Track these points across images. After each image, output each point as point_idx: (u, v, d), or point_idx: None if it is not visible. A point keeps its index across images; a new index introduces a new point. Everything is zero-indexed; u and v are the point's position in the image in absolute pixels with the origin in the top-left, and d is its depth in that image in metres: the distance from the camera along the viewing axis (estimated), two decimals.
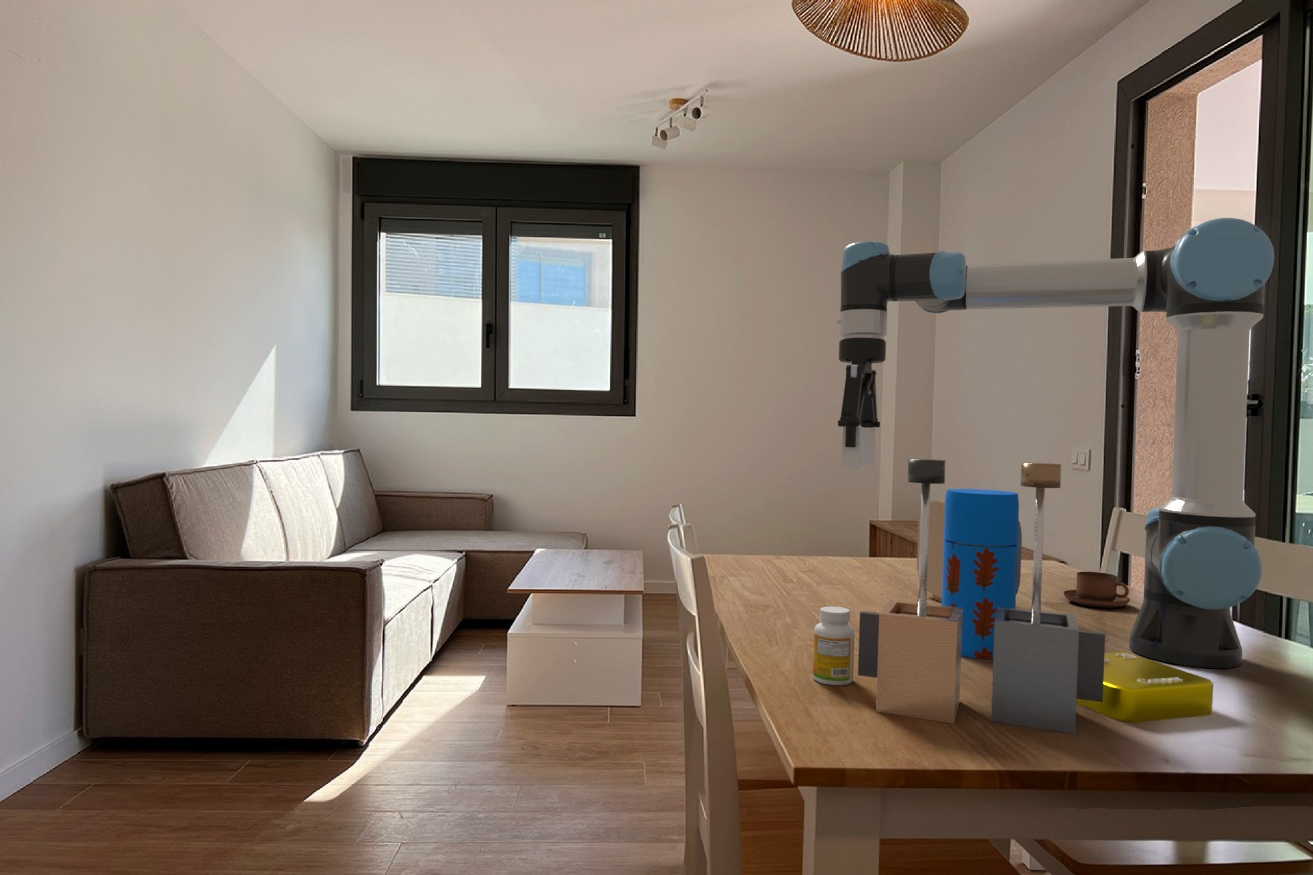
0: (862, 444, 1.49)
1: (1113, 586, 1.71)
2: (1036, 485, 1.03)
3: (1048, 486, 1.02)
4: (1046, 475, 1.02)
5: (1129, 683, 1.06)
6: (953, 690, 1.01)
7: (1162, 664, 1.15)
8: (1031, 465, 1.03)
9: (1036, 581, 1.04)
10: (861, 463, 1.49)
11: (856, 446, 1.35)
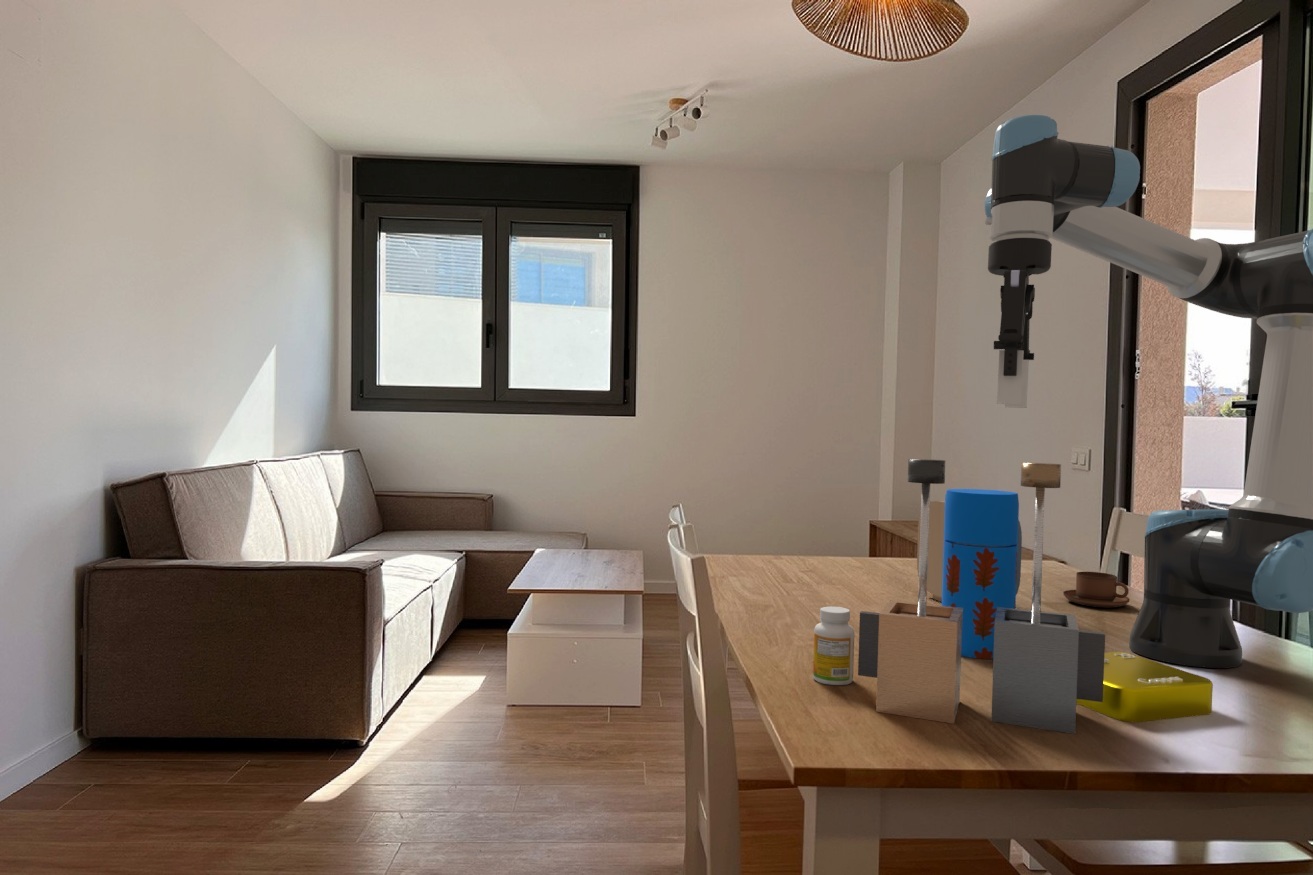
0: None
1: (1112, 586, 1.71)
2: (1036, 485, 1.03)
3: (1048, 486, 1.02)
4: (1046, 475, 1.02)
5: (1130, 683, 1.06)
6: (953, 690, 1.01)
7: (1161, 664, 1.15)
8: (1031, 465, 1.03)
9: (1036, 581, 1.04)
10: (1010, 405, 1.18)
11: (1017, 374, 1.05)
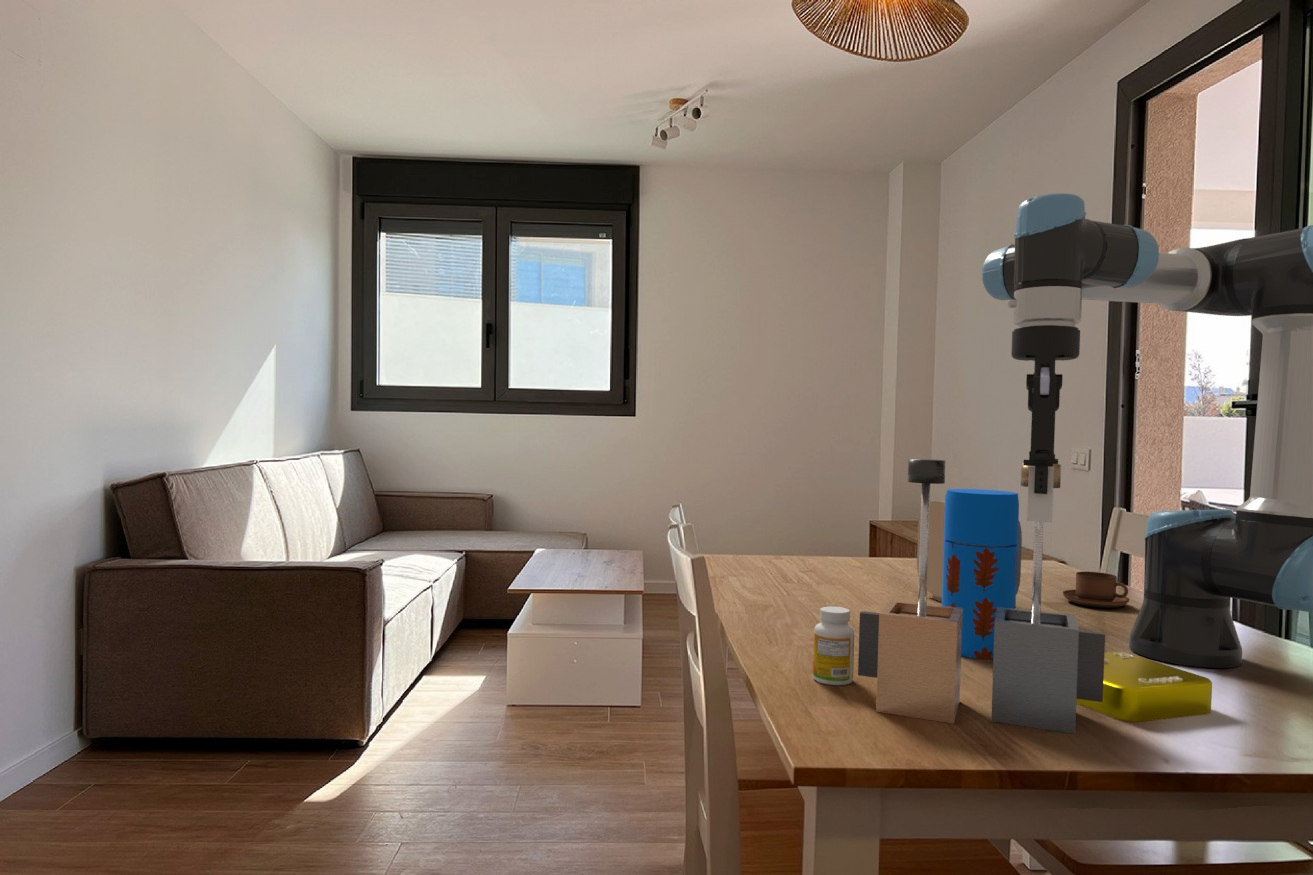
0: None
1: (1112, 586, 1.71)
2: None
3: None
4: None
5: (1131, 683, 1.06)
6: (953, 690, 1.01)
7: (1159, 663, 1.15)
8: None
9: (1036, 581, 1.04)
10: None
11: (1048, 492, 1.01)
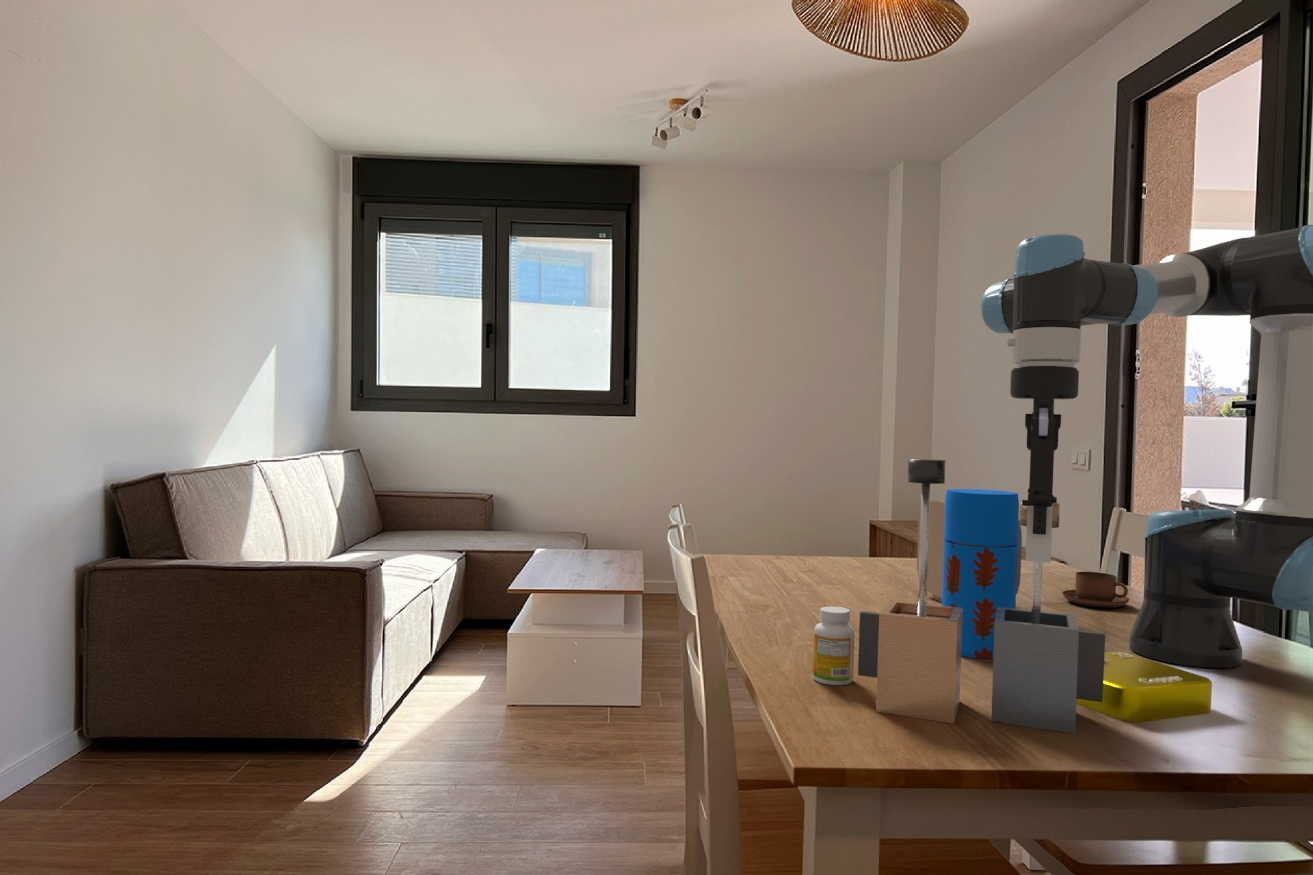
0: None
1: (1112, 586, 1.71)
2: None
3: None
4: None
5: (1132, 683, 1.06)
6: (953, 690, 1.01)
7: (1159, 663, 1.15)
8: None
9: (1035, 620, 1.04)
10: None
11: (1047, 532, 1.01)
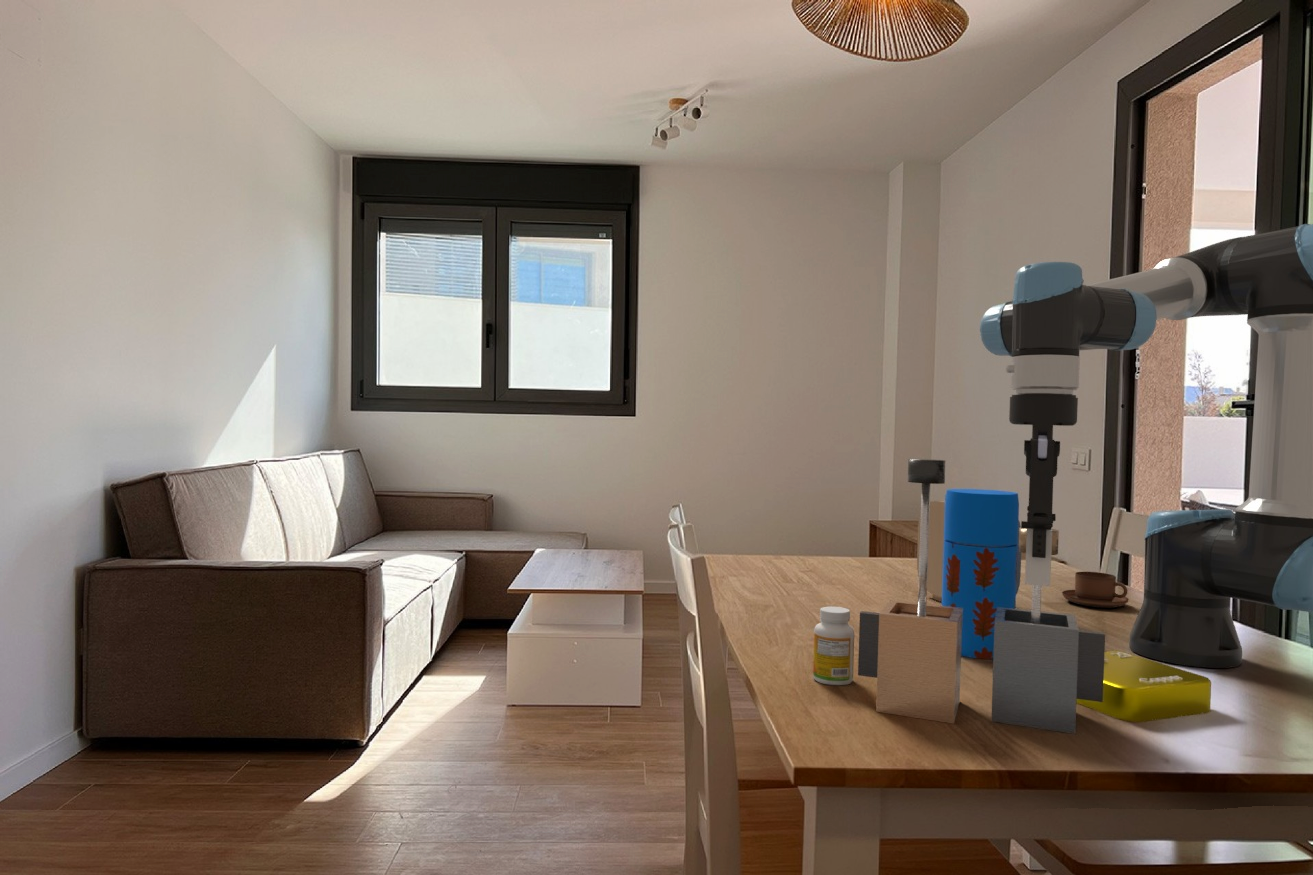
0: None
1: (1111, 586, 1.71)
2: None
3: None
4: None
5: (1132, 683, 1.06)
6: (953, 690, 1.01)
7: (1157, 662, 1.16)
8: None
9: None
10: None
11: (1046, 555, 1.00)
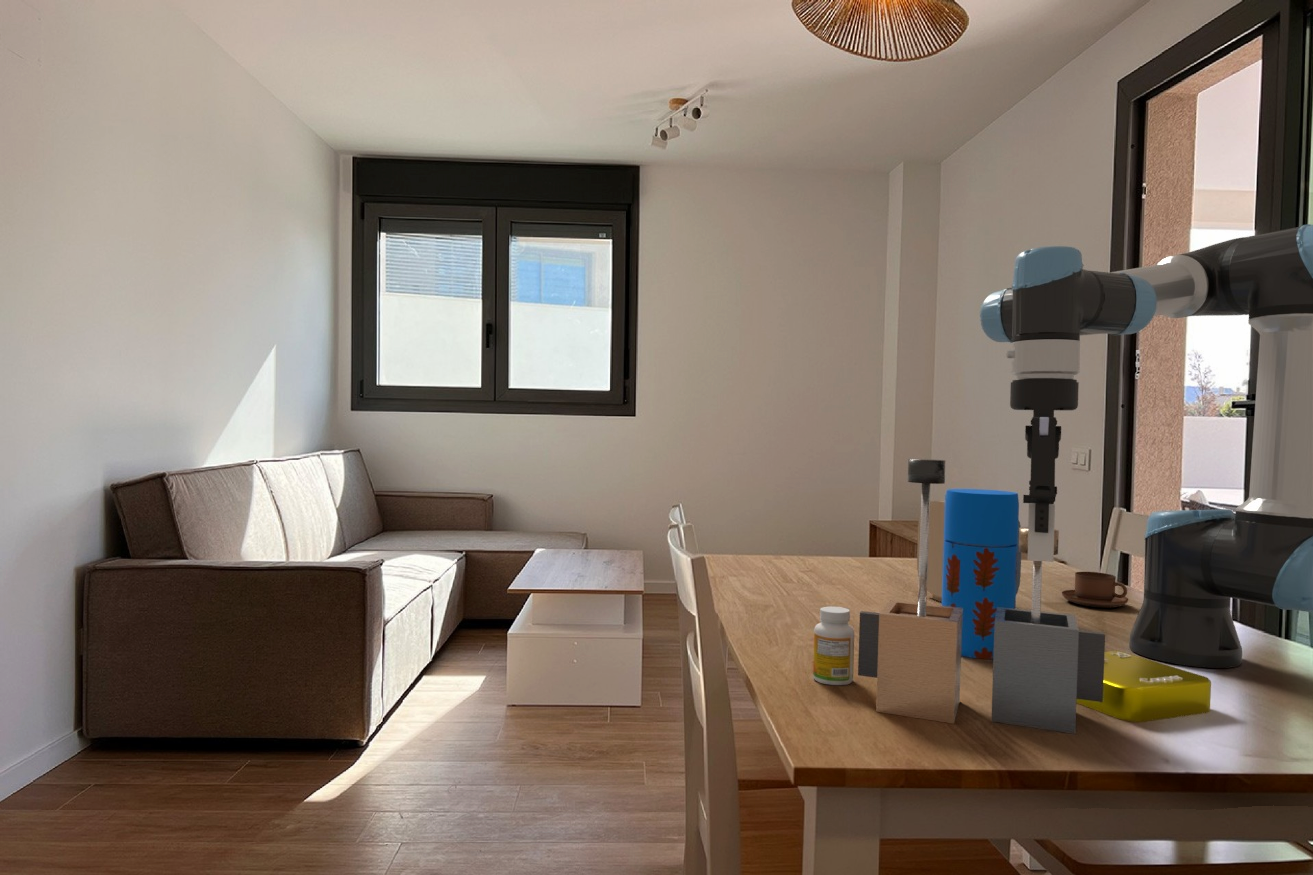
0: None
1: (1111, 586, 1.71)
2: None
3: None
4: None
5: (1133, 683, 1.06)
6: (953, 690, 1.01)
7: (1157, 662, 1.16)
8: None
9: None
10: None
11: (1049, 530, 0.98)
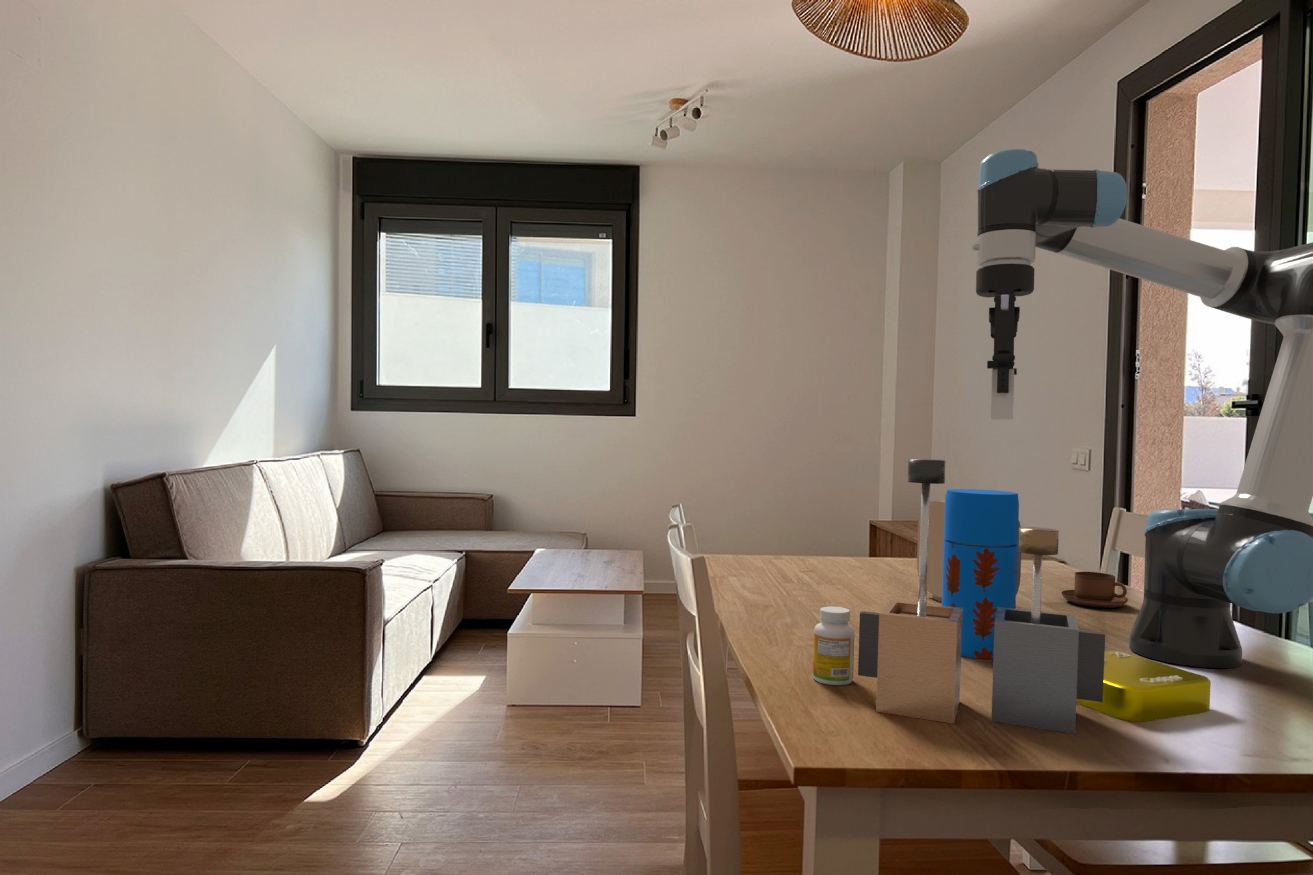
0: None
1: (1111, 586, 1.71)
2: (1034, 552, 1.03)
3: (1046, 553, 1.02)
4: (1044, 543, 1.02)
5: (1134, 683, 1.06)
6: (953, 690, 1.01)
7: (1156, 662, 1.16)
8: (1029, 532, 1.03)
9: None
10: None
11: (1009, 392, 1.13)
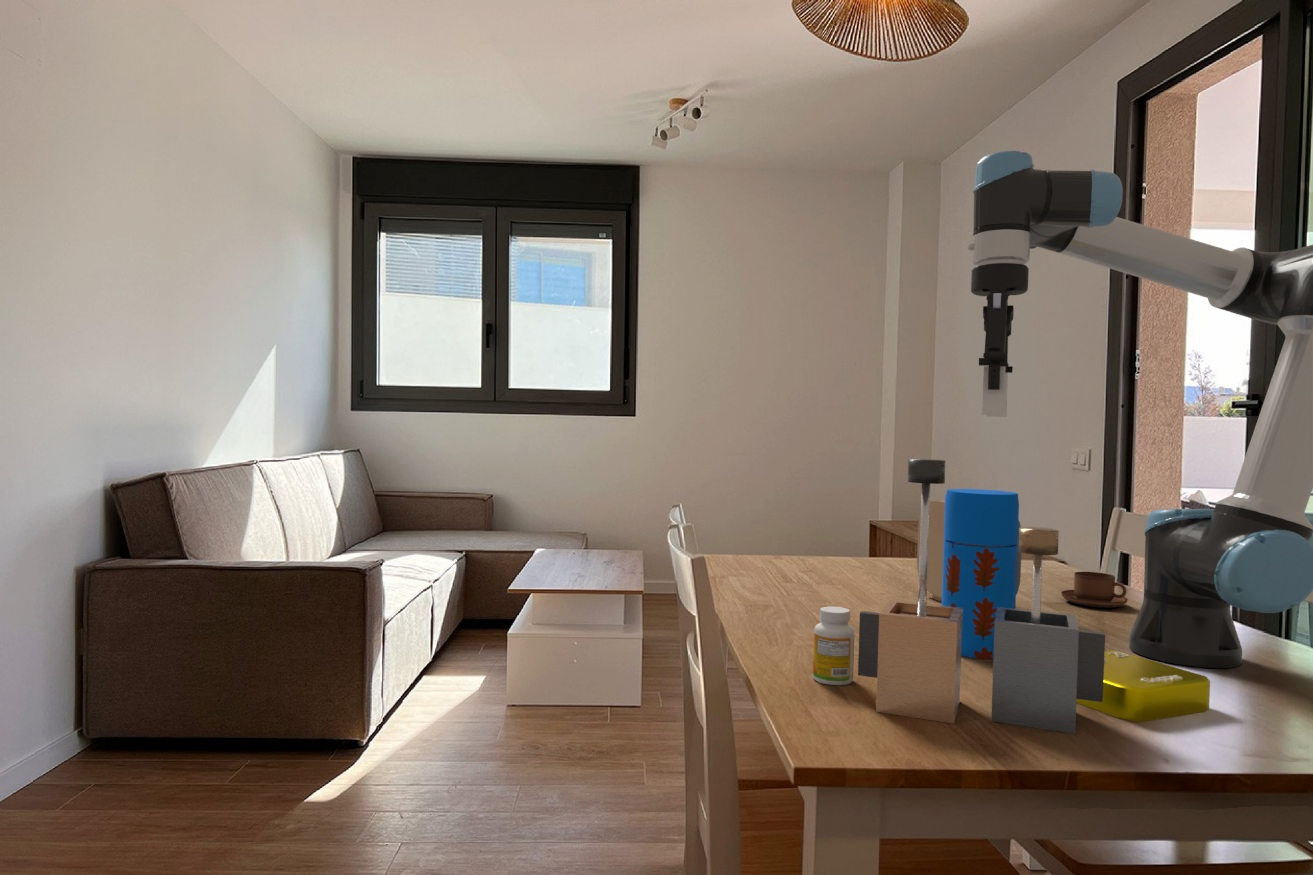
0: None
1: (1110, 586, 1.71)
2: (1034, 552, 1.03)
3: (1046, 553, 1.02)
4: (1044, 543, 1.02)
5: (1134, 683, 1.06)
6: (953, 690, 1.01)
7: (1155, 662, 1.16)
8: (1029, 532, 1.03)
9: None
10: None
11: (1000, 388, 1.15)
